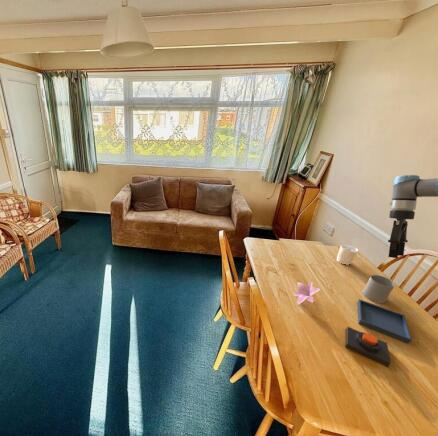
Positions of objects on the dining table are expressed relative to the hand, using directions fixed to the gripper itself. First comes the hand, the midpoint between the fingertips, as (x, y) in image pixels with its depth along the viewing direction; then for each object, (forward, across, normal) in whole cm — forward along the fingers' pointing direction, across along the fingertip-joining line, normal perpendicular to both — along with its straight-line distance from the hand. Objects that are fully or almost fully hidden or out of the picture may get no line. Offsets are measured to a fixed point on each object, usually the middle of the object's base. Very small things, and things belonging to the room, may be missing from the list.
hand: (396, 256), depth 104 cm
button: (+30, +33, 0) cm, 45 cm away
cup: (+22, -4, -6) cm, 23 cm away
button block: (+34, +32, -1) cm, 47 cm away
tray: (+28, +12, 0) cm, 30 cm away
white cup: (+11, -24, -24) cm, 36 cm away
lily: (+25, +27, -25) cm, 45 cm away
